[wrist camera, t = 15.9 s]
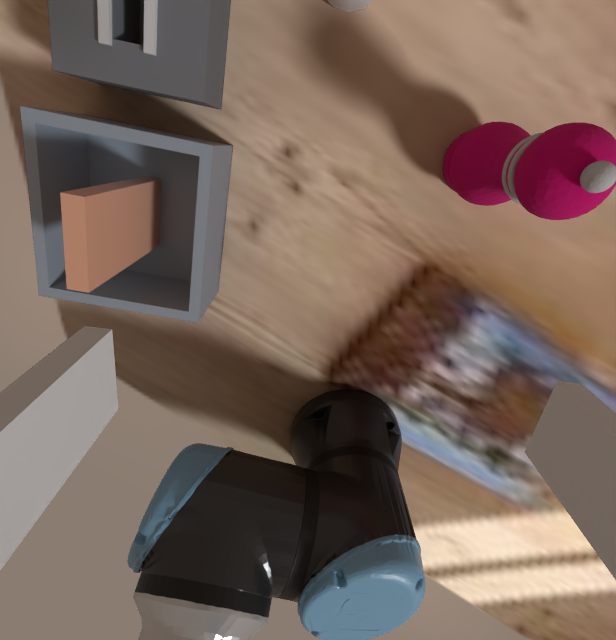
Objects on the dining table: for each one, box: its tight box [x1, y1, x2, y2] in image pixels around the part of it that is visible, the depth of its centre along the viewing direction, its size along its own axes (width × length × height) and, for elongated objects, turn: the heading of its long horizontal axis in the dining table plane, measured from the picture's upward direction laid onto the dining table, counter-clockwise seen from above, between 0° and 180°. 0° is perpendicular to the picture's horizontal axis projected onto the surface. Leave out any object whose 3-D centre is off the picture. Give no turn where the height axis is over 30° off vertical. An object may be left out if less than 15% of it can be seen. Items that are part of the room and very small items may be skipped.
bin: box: [20, 106, 233, 323], centre depth 38 cm, size 16×15×9 cm
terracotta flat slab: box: [60, 176, 162, 293], centre depth 34 cm, size 7×2×15 cm, turn 169°
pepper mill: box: [443, 122, 616, 220], centre depth 31 cm, size 7×7×20 cm
